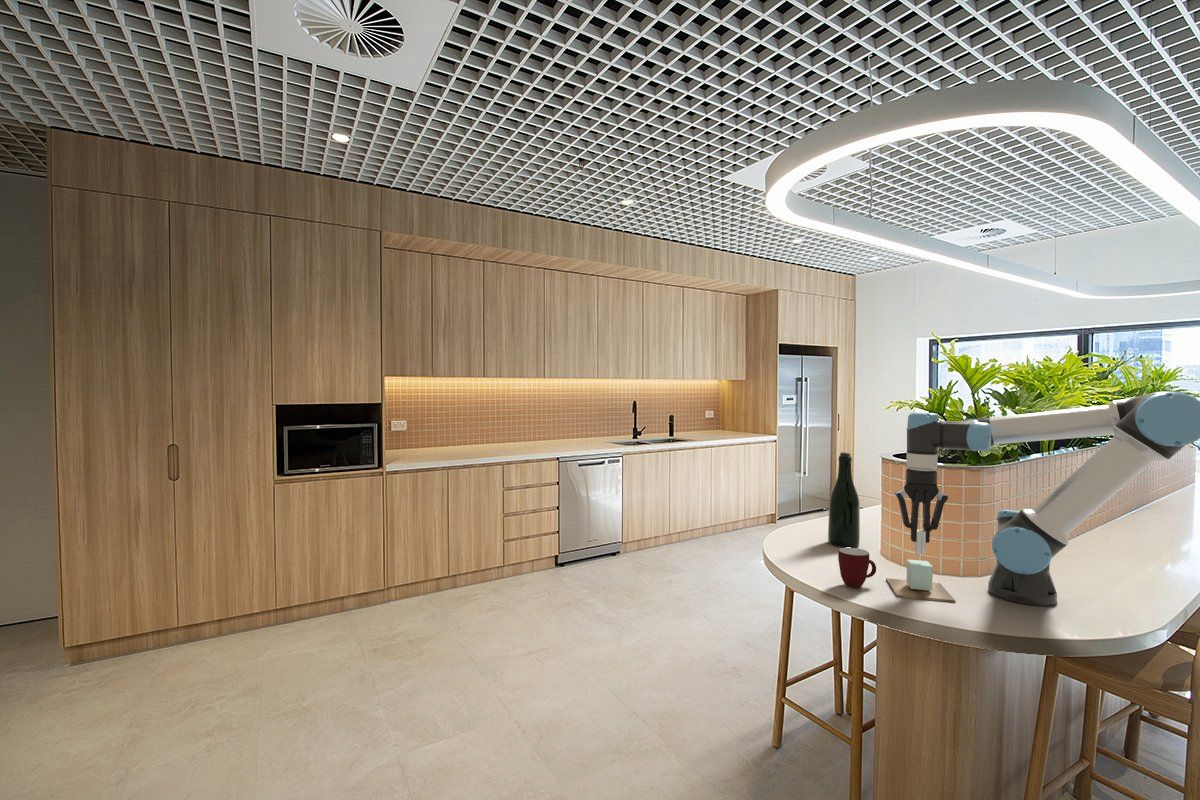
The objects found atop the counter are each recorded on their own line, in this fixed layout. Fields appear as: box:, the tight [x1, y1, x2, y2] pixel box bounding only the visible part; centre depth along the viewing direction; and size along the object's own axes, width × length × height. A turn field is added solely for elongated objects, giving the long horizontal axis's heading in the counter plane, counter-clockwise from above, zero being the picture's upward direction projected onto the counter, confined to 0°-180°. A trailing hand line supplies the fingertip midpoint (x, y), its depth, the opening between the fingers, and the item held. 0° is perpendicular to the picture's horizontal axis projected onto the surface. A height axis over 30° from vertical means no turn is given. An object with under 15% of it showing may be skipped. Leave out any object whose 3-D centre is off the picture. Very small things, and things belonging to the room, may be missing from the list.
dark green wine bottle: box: [827, 451, 861, 548], centre depth 208 cm, size 10×10×33 cm
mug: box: [837, 547, 877, 590], centre depth 164 cm, size 11×8×10 cm
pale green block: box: [906, 559, 934, 591], centre depth 161 cm, size 5×5×7 cm
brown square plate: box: [885, 577, 956, 604], centre depth 161 cm, size 14×14×7 cm
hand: (919, 553), depth 161 cm, fingers closed
